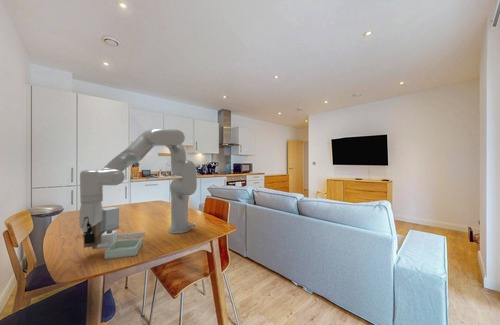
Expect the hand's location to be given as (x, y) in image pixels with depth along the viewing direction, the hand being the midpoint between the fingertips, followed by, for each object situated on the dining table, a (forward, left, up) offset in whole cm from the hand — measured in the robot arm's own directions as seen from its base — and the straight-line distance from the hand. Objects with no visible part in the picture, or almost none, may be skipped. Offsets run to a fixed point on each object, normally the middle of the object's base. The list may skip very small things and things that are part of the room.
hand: (92, 240), depth 84 cm
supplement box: (+7, -40, -7) cm, 41 cm away
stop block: (0, 0, -2) cm, 2 cm away
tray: (-12, -1, -7) cm, 14 cm away
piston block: (-1, -15, -7) cm, 16 cm away
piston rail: (-6, -15, -7) cm, 17 cm away
